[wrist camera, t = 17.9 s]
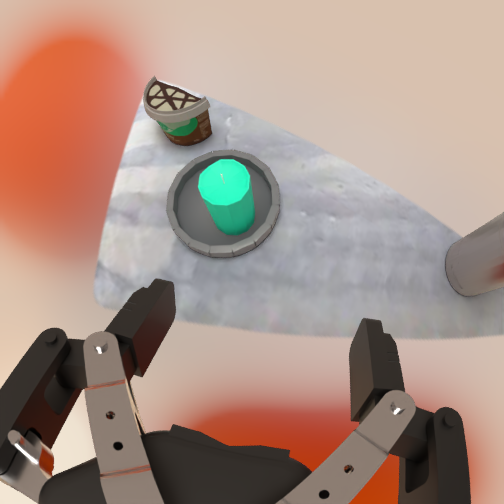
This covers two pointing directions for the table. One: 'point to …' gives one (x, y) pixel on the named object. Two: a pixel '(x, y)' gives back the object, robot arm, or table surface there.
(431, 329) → the table surface
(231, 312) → the table surface
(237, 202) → the candle
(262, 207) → the plate
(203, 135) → the food container
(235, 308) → the table surface
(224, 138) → the table surface
